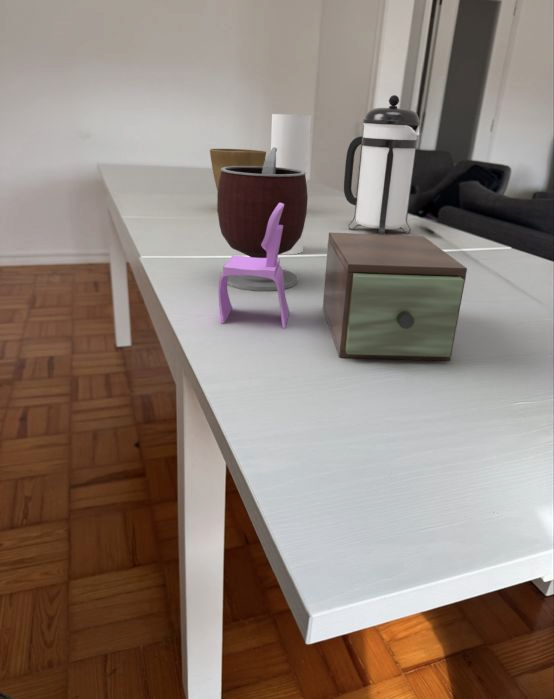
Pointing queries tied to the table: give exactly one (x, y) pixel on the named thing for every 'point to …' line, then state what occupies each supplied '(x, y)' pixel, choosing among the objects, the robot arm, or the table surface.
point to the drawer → (403, 314)
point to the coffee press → (383, 167)
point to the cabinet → (377, 257)
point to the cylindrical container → (292, 149)
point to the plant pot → (234, 159)
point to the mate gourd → (261, 213)
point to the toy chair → (258, 267)
